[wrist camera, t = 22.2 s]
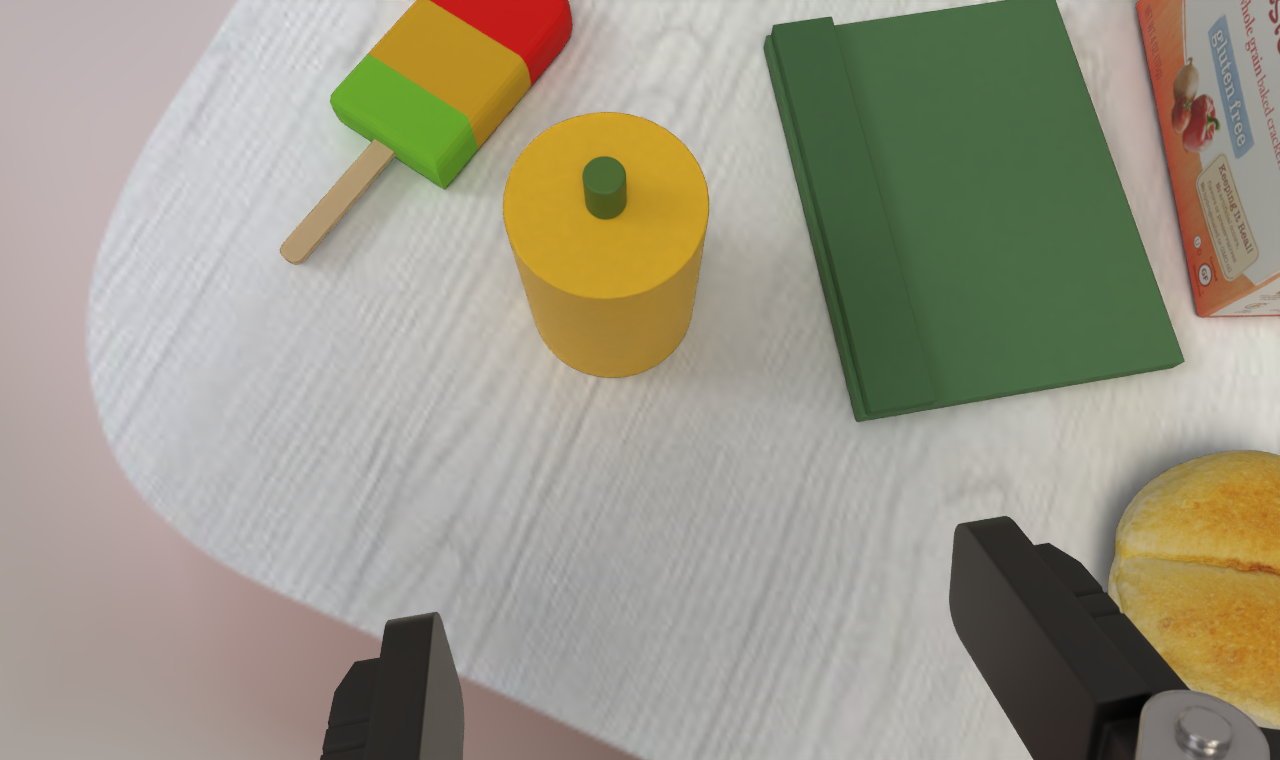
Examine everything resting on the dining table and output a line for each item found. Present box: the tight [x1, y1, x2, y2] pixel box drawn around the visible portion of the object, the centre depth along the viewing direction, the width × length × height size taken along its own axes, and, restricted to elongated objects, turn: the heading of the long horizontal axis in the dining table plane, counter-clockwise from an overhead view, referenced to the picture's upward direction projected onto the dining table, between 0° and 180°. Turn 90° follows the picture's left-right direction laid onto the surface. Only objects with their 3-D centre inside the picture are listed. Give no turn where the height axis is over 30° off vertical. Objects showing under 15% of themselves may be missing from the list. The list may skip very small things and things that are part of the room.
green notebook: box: [764, 0, 1184, 422], centre depth 34 cm, size 12×16×1 cm
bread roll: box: [1108, 450, 1280, 730], centre depth 29 cm, size 8×9×4 cm
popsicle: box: [280, 0, 572, 265], centre depth 35 cm, size 6×15×2 cm, turn 145°
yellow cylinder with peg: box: [503, 112, 709, 378], centre depth 29 cm, size 6×6×10 cm
